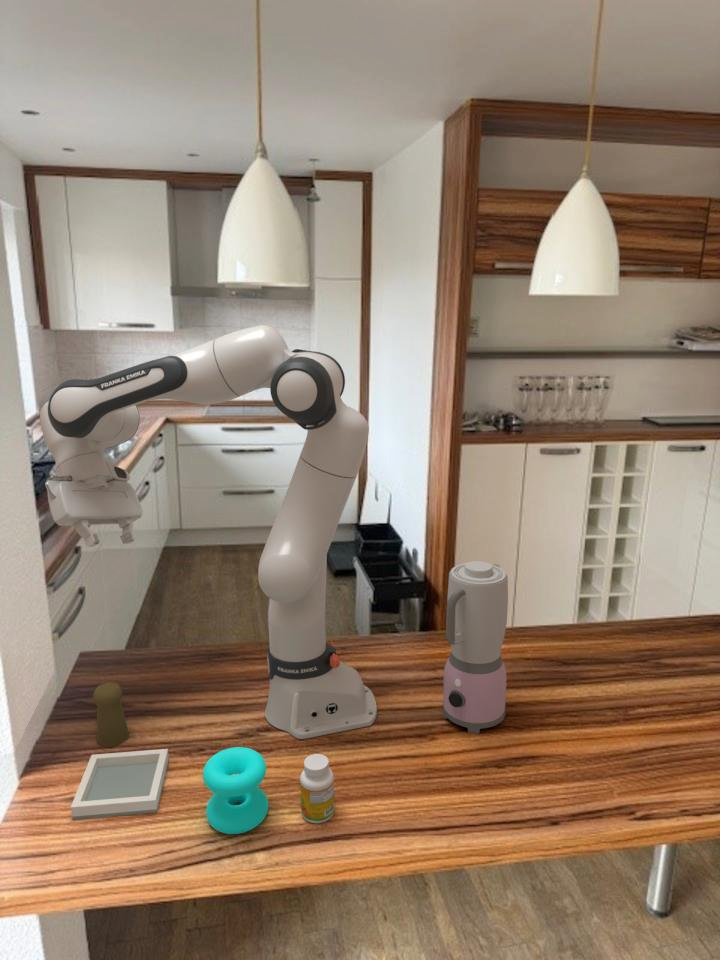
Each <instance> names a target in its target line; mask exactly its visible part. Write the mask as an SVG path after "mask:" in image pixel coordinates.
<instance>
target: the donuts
mask: <svg viewBox="0 0 720 960" xmlns="http://www.w3.org/2000/svg"><path fill="white" fill-rule="evenodd" d="M266 774H267V763H266V761H265V759H264V757H263V756H262V755H261V753H259V752H258V751H256V750H254V749H252V748H248V747H244V746H238V747H237V746H235V747H230V748H225V749H223V750H219V751H218V752H217V753H215V754H214V755H211V757H210V758H209V759H208V760H207V761H206V763H205V765H204V767H203V771H202V778H203V782H204V784H205V786H206V788H207V789H208V790H210V792H212V793H213V794H212V796H211V797H210V798H209V800H208V801H207V805H206V810H205V813H206V814H205V816H206V819H207V822H208V824H209V825H210V826H211V827H212V828H213V829H214V830H216V831H217V832H219V833H223V834H226V835H227V834H228V835H239V834H242V833H243V834H244V833H247V832H249V831H251V830H253V829H255V828H256V827H258V826H259V825H260V824H261V823H263V820H265V818H266V816H267V813H268V811H269V799H268V797H267V795H266V793H265V792H264V791H263V789H261V788H260V787H259V786H260V785H261V784H262V782H263V780H264V779H265V776H266Z"/></svg>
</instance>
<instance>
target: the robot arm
mask: <svg viewBox="0 0 720 960" xmlns="http://www.w3.org/2000/svg"><path fill="white" fill-rule="evenodd" d="M345 384H346V376H345V373H344V370H343V368H342V366H341V364H340V363H339V362H338V360H336V359H335V358H334V357H332V356H331V355H329V354H326V353H324V352H320V351H314V350H313V351H312V350H306V349H299V348H295V349H293V350H292V351H291V350H290V348H289V347H288V345H287V343H286V341H285V339H284V337H283V335H281V333H280V332H279V331H277V330H276V329H275V328H274V327H273V326H270V325H266V324H265V325H264V324H263V325H262V324H261V325H255V326H250V327H247V328H242V329H239V330H235V331H233V332H229V333H227V334H225V335H222V336H221V335H220V336H219V337H216V338H214V339H211V340H210V341H207V342H204V343H202V344H199V345H197V346H195V347H192V348H188V349H185V350H184V351H180V352H176V353H173V354H169V355H167V356H164V357H160V358H157V359H153V360H152V359H151V360H149V361H145V362H143V363H139V364H137V365H134V366H131V367H128V368H127V367H126V368H124V369H122V370H118V371H114V372H113V373H110V374H107V375H105V376H101V377H97V378H94V379H79V378H76V379H75V378H74V379H67V380H66V381H63V382H61V383H60V384H59V385H58V386H57V387H56V388H55V389H54V390H53V392H52V393H51V395H50V397H49V400H48V401H47V402H45V403H44V405H43V406H42V407H41V408H40V412H39V423H40V428H41V431H42V435H43V440H44V441H45V445H46V447H47V449H48V452H49V453H50V454H51V456H52V457H53V459H54V462H55V470H56V473H57V475H50V476H49V477H48V478H47V479H46V481H45V488H46V490H47V499H48V505H49V506H48V507H49V510H50V512H51V516H52V520H53V521H54V523H56V524H57V526H59V527H69V526H70V527H71V526H73V528H74V530H75V532H76V533H77V534H78V535H79V536H80V537H81V538H82V539H83V540H84V543H85V545H86V547H89V548H91V547H96V546H97V545H99V544H100V538H98V537H99V536H98V534H97V533H94V532H93V531H92V530H91V529H90V527H89V526H95V525H96V526H97V525H118V527H119V528H120V529H121V532H122V534H121V535H120V536H119V538H120V540H121V542H122V544H123V545H128V544H129V545H130V544H132V543H133V542H134V541H135V537H134V535H133V524H134V523H133V522H136V521H137V520H139V519H141V518H142V515H143V508H142V505H141V501H140V500H139V497H138V494H137V492H136V490H135V488H134V486H132V484H131V483H130V482H129V480H131V475H130V474H129V472H128V471H127V470H126V469H124V468H123V467H122V468H121V467H119V466H117V465H116V464H113V463H111V462H110V461H108V460H106V458H105V455H104V451H105V450H106V449H111V448H114V447H117V446H119V445H122V444H124V443H126V442H129V441H130V440H131V439H132V438H133V437H134V436H135V434H136V433H137V432H138V429H139V427H140V412H139V408H138V406H137V405H140V404H143V403H146V402H150V401H157V400H172V401H182V402H185V403H186V402H188V403H192V404H197V405H204V406H206V405H207V406H208V405H209V406H211V405H214V404H221V403H224V402H230V401H232V400H236V399H237V398H239V397H242V396H244V395H247V394H250V393H251V392H254V391H257V390H259V389H261V390H262V389H270V390H269V391H270V396H271V399H272V400H271V401H272V402H273V404H274V405H275V407H276V408H277V409H278V410H279V411H280V413H282V414H284V416H285V417H287V418H288V419H291V420H292V421H293V422H294V423H296V424H297V425H298V426H300V427H301V429H304V430H305V431H306V430H307V434H306V438H305V441H304V444H303V446H302V449H301V451H300V453H299V458H298V459H297V463H296V465H295V468H294V471H293V473H292V476H291V479H290V482H289V485H288V488H287V490H286V491H285V495H284V498H283V500H282V503H281V504H280V507H279V510H278V513H277V515H276V516H275V520H274V522H273V525H272V527H271V529H270V533H269V535H268V537H267V540H266V543H265V545H264V547H263V551H262V552H261V556H260V559H259V562H258V569H257V571H258V572H257V574H258V575H257V576H258V577H257V579H258V585H259V587H260V589H261V590H262V592H263V593H264V594H265V596H267V597H268V598H269V601H268V610H267V617H268V618H267V621H268V640H269V647H268V649H267V655H266V656H267V659H266V660H267V673H268V675H269V676H268V677H269V689H268V690H269V691H268V697H267V702H266V707H265V710H264V716H265V719H266V720H267V722H268V723H269V724H270V725H271V726H272V727H275V728H277V729H279V730H282V731H284V732H287V733H289V734H290V735H292V736H293V737H294V738H296V739H299V740H305V739H310V738H315V737H316V738H317V737H319V736H325V735H330V734H336V733H339V732H345V731H350V730H354V729H359V728H365V727H370V726H371V725H373V724H374V722H375V721H376V719H377V715H378V708H377V701H376V698H375V695H374V694H373V691H372V690H371V689H370V688H369V687H368V686H367V685H364V682H363V679H362V677H361V675H360V674H359V672H358V671H357V670H356V668H353V667H352V666H350V665H348V664H346V663H344V662H343V661H341V659H340V656H339V655H337V648H336V647H335V644H334V642H333V641H332V640H331V641H330V643H328V642H327V639H326V638H327V637H326V636H327V635H326V598H327V597H326V592H327V568H328V566H327V565H328V563H327V560H328V559H327V558H328V557H327V556H328V551H329V550H330V548H331V544H332V541H333V539H334V536H335V533H336V530H337V528H338V526H339V522H340V519H341V517H342V515H343V513H344V510H345V507H346V505H347V502H348V499H349V497H350V495H351V491H352V489H353V488H354V485H355V482H356V479H357V477H358V473H359V471H360V470H361V469H360V468H361V467H362V466H361V465H362V462H363V459H364V455H365V452H366V448H367V445H368V444H367V443H368V437H369V433H370V432H369V431H370V428H369V424H368V423H369V422H368V421H367V419H366V417H365V416H364V415H363V414H362V413H360V412H359V411H358V410H356V409H355V408H353V407H350V406H348V405H347V404H345V402H343V399H342V395H343V394H344V390H345Z"/></svg>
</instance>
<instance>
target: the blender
mask: <svg viewBox="0 0 720 960" xmlns="http://www.w3.org/2000/svg"><path fill="white" fill-rule="evenodd" d="M508 578H509V577H508V573H507V572H506V571H505V569H503V568H502V567H501V566H500V565H499V564H495V563H494V564H491V563H489V562H486V561H482V560H472V561H468V562H465V563H460V564H457V565H455V566H454V567H452V568H451V569H450V571H449V572H448V586H447V599H446V601H447V603H446V609H445V610H446V613H445V614H446V615H445V617H446V618H445V619H446V620H445V636H446V638H445V639H446V642H447V643H448V644H449V645H450V655H449V656H448V658H447V660H446V662H445V666H444V669H443V703H442V705H443V706H442V710H443V711H442V712H443V713H442V714H443V717H444V719H445V720H449V721H450V722H452V723H454V724H456V725H457V726H458V725H459V726H461V727H463V728H467V733H469V734H477V735H478V734H480V730H481V729H488V728H492V727H495V726H497V725H499V724H500V723H502V721H504V719H505V717H506V695H507V670H506V667H505V664H504V661H503V659H502V647H503V644H504V639H505V635H506V628H507V623H508V610H509V609H508V607H509V606H508V605H509V589H508V588H509V585H508V583H509V580H508Z"/></svg>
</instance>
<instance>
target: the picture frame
mask: <svg viewBox="0 0 720 960" xmlns="http://www.w3.org/2000/svg"><path fill="white" fill-rule="evenodd" d="M169 761H170V756H169V749H168V748H162V749H161V748H160V749H149V750H136V751H123V752H111V753H98V754H97V753H96V754H91V755H90V757H89V760H88V763H87V765H86V768H85V770H84V773H83V775H82V778H81V781H80V783H79V785H78V788H77V790H76V793H75V795H74V798H73V801H72V804H71V805H70V811H71V820H73V821H74V820H84V819H85V820H86V819H97V818H99V819H100V818H107V817H108V818H110V817H119V816H120V817H121V816H131V815H143V814H144V815H145V814H154V813H158V810H159V804H160V800H161V796H162V793H163V792H162V791H163V787H164V784H165V779H166V775H167V771H168V765H169Z"/></svg>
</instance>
